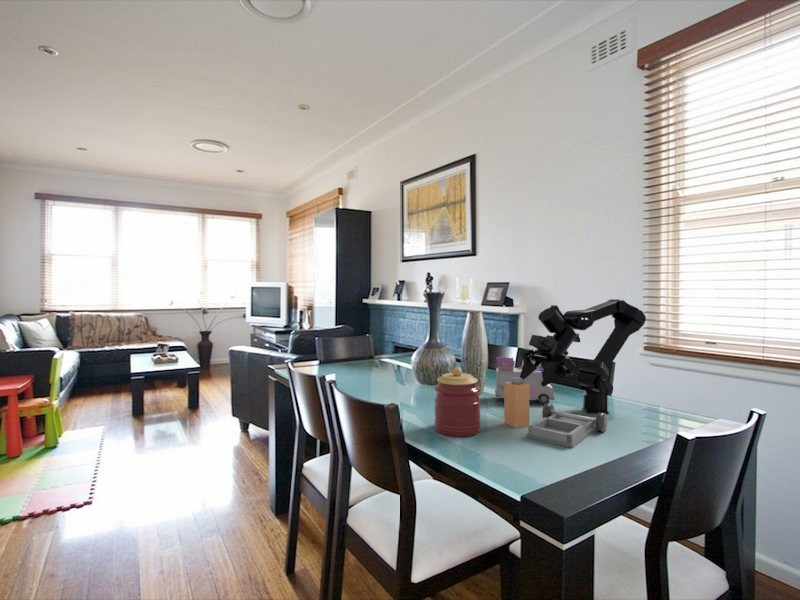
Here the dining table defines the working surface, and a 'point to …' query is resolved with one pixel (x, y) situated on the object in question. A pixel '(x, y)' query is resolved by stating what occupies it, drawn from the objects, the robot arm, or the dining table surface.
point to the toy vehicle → (534, 380)
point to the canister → (457, 404)
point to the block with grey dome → (516, 403)
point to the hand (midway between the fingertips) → (531, 382)
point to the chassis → (565, 427)
